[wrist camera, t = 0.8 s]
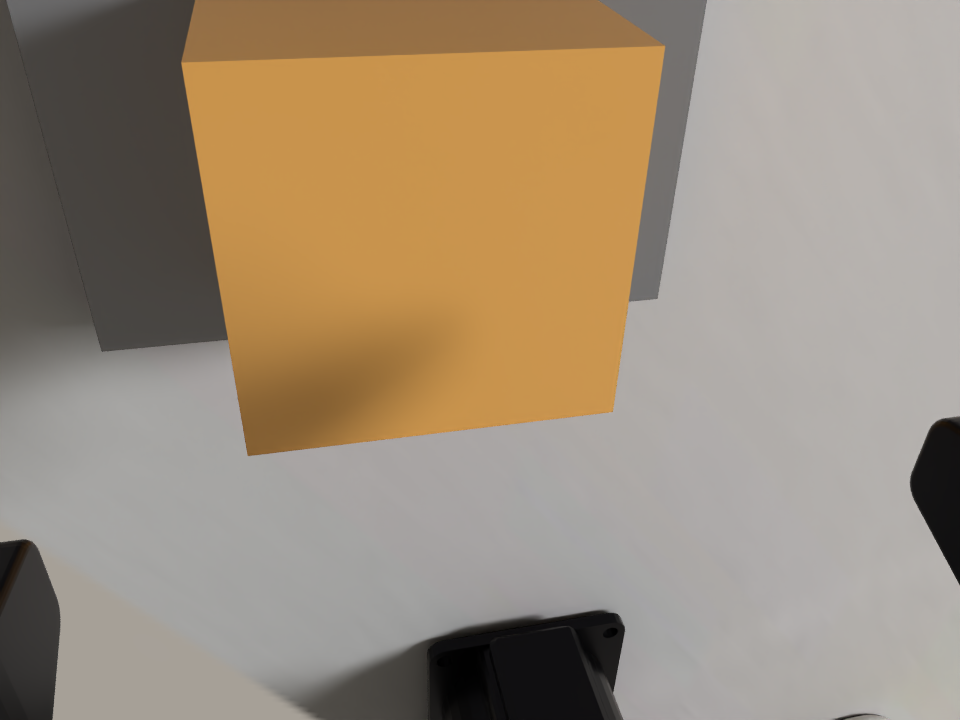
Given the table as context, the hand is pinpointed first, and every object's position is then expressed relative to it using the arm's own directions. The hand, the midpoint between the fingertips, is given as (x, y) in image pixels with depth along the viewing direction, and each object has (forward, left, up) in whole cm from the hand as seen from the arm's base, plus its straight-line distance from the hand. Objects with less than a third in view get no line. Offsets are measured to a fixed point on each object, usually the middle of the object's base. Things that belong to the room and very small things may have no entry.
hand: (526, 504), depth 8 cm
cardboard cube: (0, 0, -10) cm, 10 cm away
